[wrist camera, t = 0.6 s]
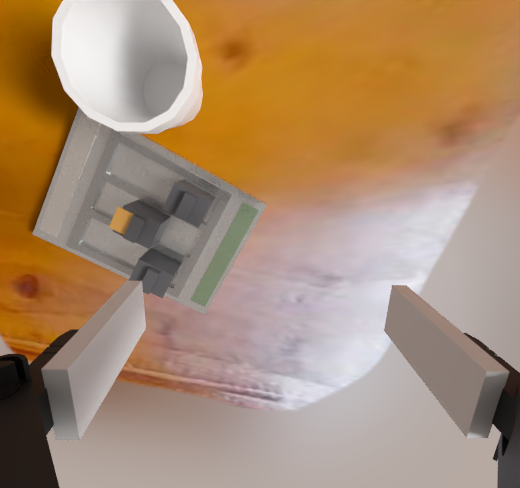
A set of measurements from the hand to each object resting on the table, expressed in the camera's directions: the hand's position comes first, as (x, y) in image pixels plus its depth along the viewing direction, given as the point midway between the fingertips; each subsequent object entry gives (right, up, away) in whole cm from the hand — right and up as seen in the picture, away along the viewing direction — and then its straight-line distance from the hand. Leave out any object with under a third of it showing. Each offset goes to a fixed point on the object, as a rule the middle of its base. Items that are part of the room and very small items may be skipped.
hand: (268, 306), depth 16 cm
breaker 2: (-12, +1, +20) cm, 24 cm away
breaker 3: (-8, +8, +18) cm, 21 cm away
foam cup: (-10, +19, +17) cm, 27 cm away
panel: (-13, +7, +20) cm, 25 cm away
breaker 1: (-13, +6, +19) cm, 24 cm away
